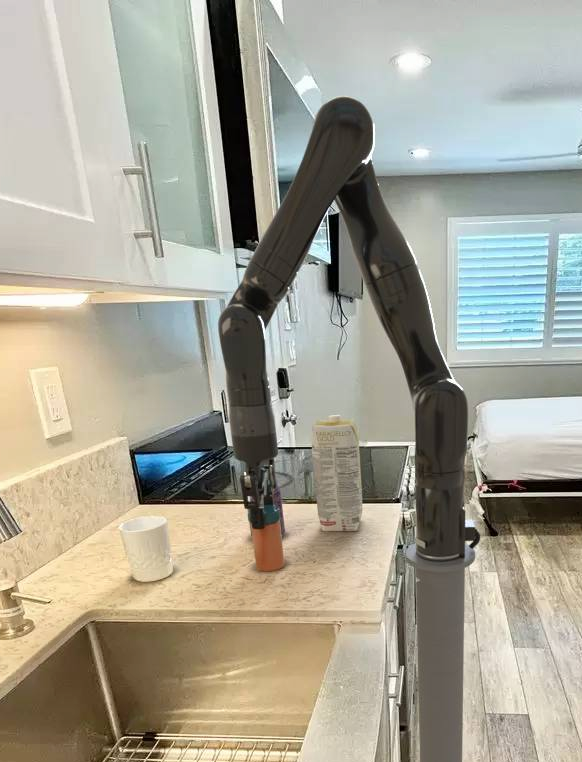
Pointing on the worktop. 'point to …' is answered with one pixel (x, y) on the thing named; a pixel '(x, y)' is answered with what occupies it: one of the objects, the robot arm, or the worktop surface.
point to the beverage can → (278, 503)
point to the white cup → (147, 547)
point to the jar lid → (269, 514)
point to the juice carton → (337, 474)
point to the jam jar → (268, 547)
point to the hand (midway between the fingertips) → (264, 521)
